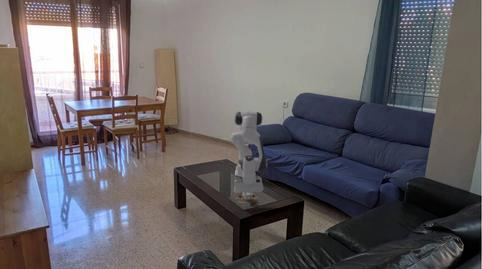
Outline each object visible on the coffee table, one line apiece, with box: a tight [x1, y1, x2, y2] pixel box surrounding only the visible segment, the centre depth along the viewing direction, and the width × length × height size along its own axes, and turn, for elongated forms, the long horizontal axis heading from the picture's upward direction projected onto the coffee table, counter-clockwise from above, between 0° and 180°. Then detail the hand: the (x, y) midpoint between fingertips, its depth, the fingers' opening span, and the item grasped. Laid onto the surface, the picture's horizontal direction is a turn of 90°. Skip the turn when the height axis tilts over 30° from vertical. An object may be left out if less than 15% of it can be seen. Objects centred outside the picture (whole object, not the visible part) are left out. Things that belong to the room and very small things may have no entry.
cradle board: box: [232, 190, 260, 204], centre depth 249 cm, size 22×16×3 cm
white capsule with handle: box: [243, 192, 251, 201], centre depth 243 cm, size 10×6×7 cm, turn 10°
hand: (248, 197), depth 237 cm, fingers closed, pressing on white capsule with handle
